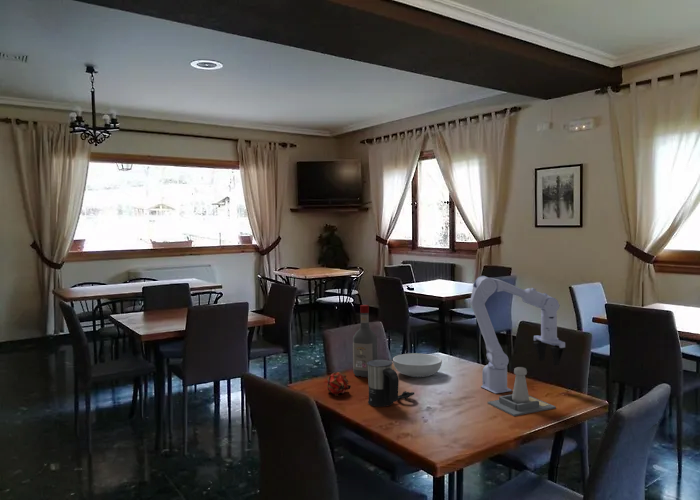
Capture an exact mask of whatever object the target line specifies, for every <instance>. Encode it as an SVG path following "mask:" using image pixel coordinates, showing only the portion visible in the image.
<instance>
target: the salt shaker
mask: <svg viewBox="0 0 700 500" xmlns="http://www.w3.org/2000/svg"><path fill="white" fill-rule="evenodd" d="M513 369H514V370H513V374H514V375H515V378H514V384H513V387H512V400H513V402H514V403H516V404H520V403H526V402H528V401H529V396H530V394H529V391H528V385H527V384H528V383H527V380H526V375H527V373H528V371H527V368H526V367H524V366H517V367H515V368H513Z"/></svg>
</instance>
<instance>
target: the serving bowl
mask: <svg viewBox="0 0 700 500" xmlns="http://www.w3.org/2000/svg"><path fill="white" fill-rule="evenodd" d="M442 363H443V360H442V358H441V357H439V356H436V355H433V354H429V353H415V352H413V353H403V354H398V355H396V356H393V358H392V364H393V367H394V369H396V371H397V372H398V373H400V374H402V375H405V376H408V377H411V378H425V377H429V376H433V375H434V374H436V373H438V371H439V370H440V369H441V367H442Z"/></svg>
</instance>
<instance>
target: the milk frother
mask: <svg viewBox="0 0 700 500" xmlns="http://www.w3.org/2000/svg"><path fill="white" fill-rule="evenodd" d="M367 364H368V377H367V379H368V381H367V382H368V383H367V384H368V401H367V404H369V405H370V406H372V407H379V408H380V407H388V406H392V405H393V404H394V403H395V402H398V401H400V400H403V399H404V400H407V399H408V398H410V397H413V396H414V395H415V391H414V392H413V391H411V392H410V391H406V390H404V391H402V393H401V394H400V395H399V375H398V373H397V372H396V371H395V369H393V366H392V365H393V361H391V360H388V359H377V360H373V361H369V362H367Z"/></svg>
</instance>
